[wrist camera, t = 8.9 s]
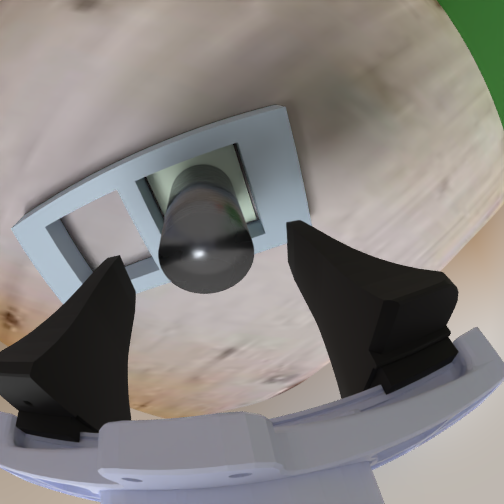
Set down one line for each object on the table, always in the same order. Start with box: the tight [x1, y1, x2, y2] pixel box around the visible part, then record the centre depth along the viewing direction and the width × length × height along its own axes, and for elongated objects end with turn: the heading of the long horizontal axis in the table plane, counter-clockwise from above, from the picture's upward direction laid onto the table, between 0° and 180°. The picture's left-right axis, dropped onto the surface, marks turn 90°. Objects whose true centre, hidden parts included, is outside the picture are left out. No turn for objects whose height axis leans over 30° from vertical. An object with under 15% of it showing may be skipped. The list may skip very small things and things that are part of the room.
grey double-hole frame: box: [11, 105, 312, 304], centre depth 17 cm, size 19×8×2 cm, turn 105°
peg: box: [158, 164, 254, 294], centre depth 14 cm, size 4×4×7 cm
